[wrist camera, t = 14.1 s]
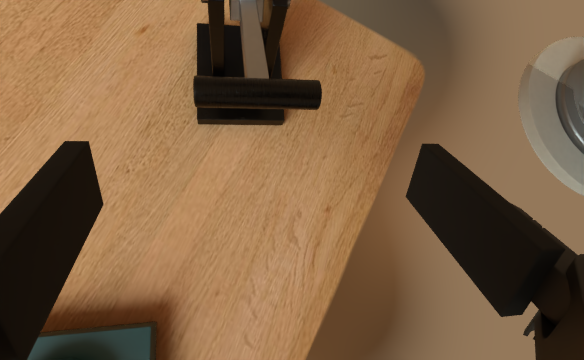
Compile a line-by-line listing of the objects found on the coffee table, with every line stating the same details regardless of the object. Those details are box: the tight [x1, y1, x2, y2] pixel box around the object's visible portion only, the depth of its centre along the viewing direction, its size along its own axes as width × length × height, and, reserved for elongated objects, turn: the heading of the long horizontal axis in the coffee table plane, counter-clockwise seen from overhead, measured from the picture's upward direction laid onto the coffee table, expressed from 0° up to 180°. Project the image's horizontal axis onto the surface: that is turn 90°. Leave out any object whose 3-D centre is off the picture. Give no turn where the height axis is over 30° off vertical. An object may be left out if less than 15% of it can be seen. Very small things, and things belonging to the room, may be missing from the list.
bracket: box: [197, 0, 291, 125], centre depth 28 cm, size 10×8×13 cm
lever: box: [193, 0, 322, 110], centre depth 20 cm, size 13×6×2 cm, turn 4°
